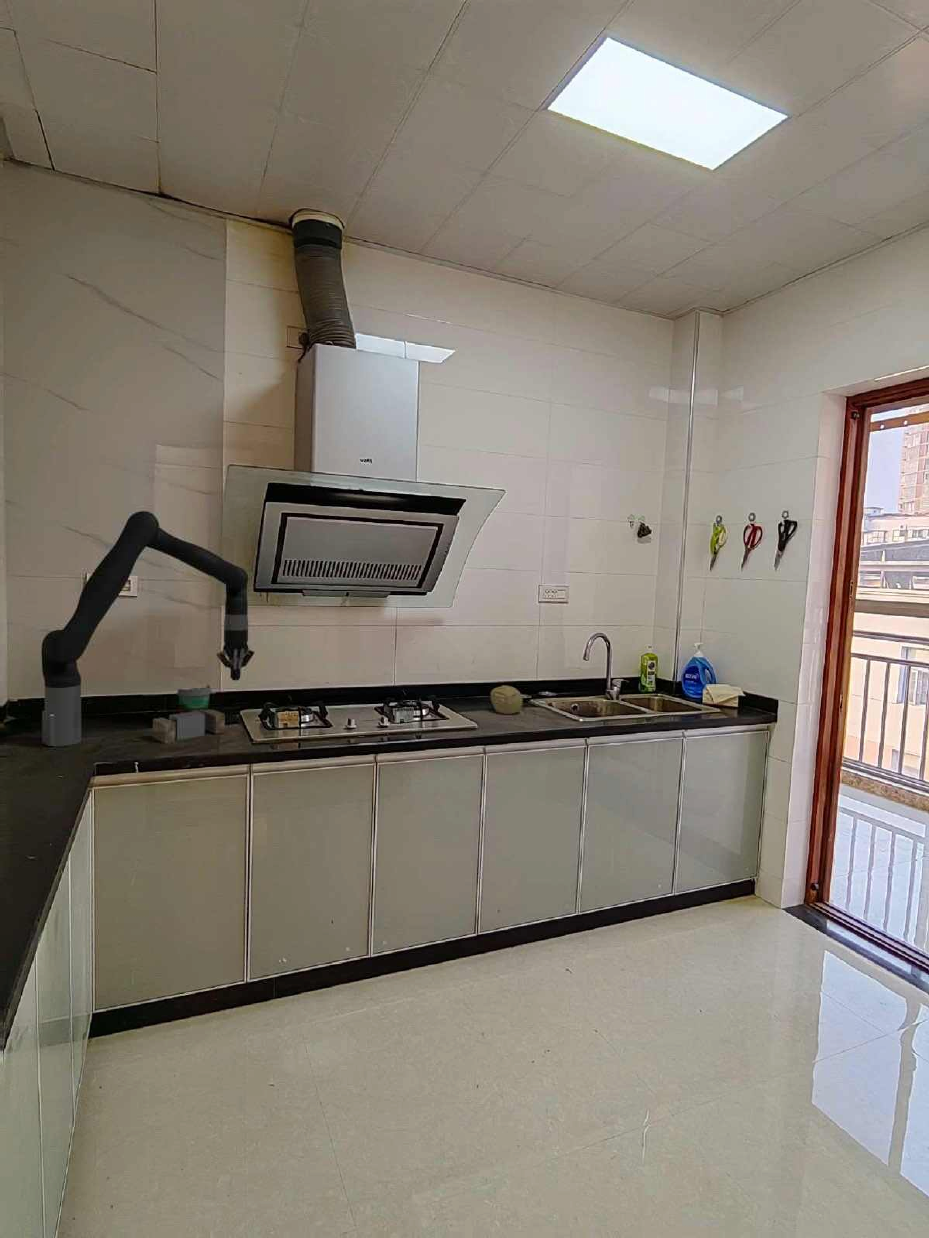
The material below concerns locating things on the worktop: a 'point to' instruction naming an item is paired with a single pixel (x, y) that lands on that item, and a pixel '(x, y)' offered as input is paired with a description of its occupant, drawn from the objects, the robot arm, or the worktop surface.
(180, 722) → the block
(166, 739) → the beige brown block
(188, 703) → the food container
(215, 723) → the block
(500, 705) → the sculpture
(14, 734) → the worktop surface
